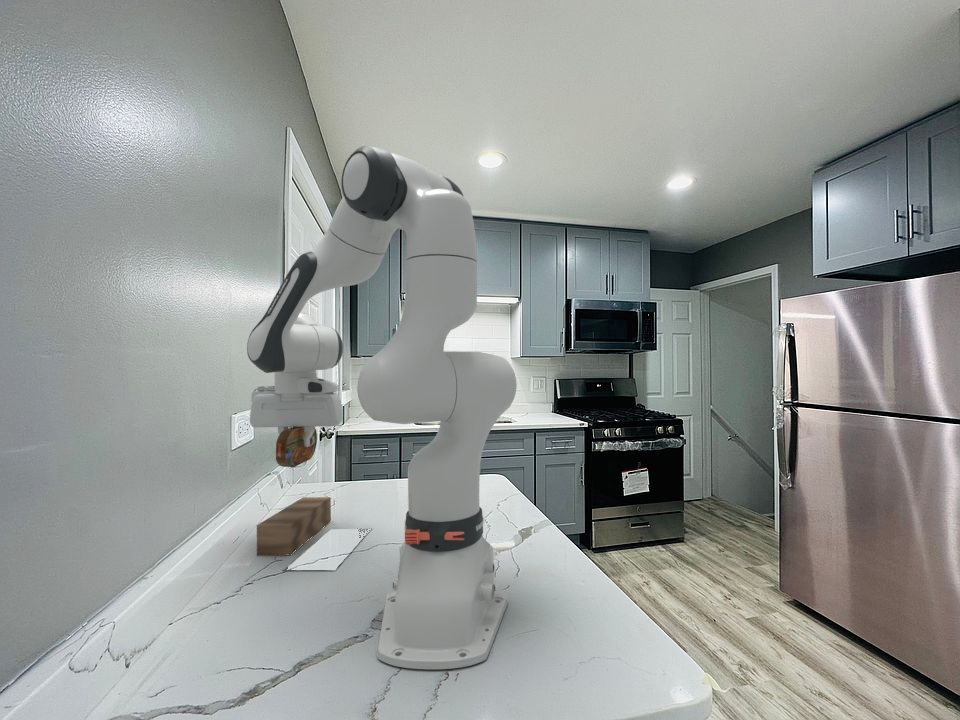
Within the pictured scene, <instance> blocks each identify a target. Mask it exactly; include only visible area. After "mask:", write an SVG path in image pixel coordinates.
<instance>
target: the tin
mask: <svg viewBox="0 0 960 720" xmlns="http://www.w3.org/2000/svg"><path fill="white" fill-rule="evenodd" d="M306 433H307V432H305V427H289V428H288V429H285V430H283V431H282V432H281V433H280V435H279V434H278V437H277V439H276V442H275V444H276V446H275V461H276V463H277V465H278V466H279V467H284V468H296V467H297V466H300V465H302V464H303V463H306V462H308V461H310V460H311V459H312V458H313V456H314V454H315V453H316V448H317V442H318V432H317V428H315V431H314V433H313V434H312V436H311V438H310V446H309V447H300V444H301V443H300V439H303V438H304V437H305V435H306Z"/></svg>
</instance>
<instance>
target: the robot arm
mask: <svg viewBox="0 0 960 720" xmlns="http://www.w3.org/2000/svg"><path fill="white" fill-rule="evenodd" d="M341 191H342V194H343V196H342V198H341V200H340V201H339V204H338V205H337V208H336V209H335V211H334V213H333V216H332V217H331V221H330V223H329V225H328V228H327V231H326V233H325V234H324V236H323V238H322V239H321V240H320V241H319V242H318V243H317V244H316V245H315V246H314V247H313V248H312V249H311V250H309V251H307V252H305V253H302V254H300V255H299V256H298V257H297V258H296V260H295V262H294V263H293V264H292V266H291V267H290V269H289V271H288V273H287V274H286V276H285V278H284V279H283V282H282V283H281V285H280V287H279V289H278V290H277V291H276V293H275V295H274V297H273V298H272V301H271V303H270V304H269V306H268V308H267V310H266V312H265V313H264V315H263V317H262V318H261V319H260V320H259V321H258V323H257V324H256V325H255V326H254V328H253V329H252V330H251V332H250V334H249V336H248V339H247V343H246V344H247V345H246V346H247V347H246V353H247V357H248V360H250V361H251V363H252V364H253V365H254V366H255V367H256V368H257V369H259V370H261V371H262V372H264V373H265V374H271V373H272V374H273V373H274V385H270V386H265V385H264V386H257V387H256V388H255V389H254V390H253V391H252V392H251V395H250V397H251V398H250V399H251V400H250V401H251V405H250V406H251V407H250V412H249V413H250V414H249V424H250V425H251V427H252V428H277V433H278V436H279V435H280V433H281V432H282V431H283V430H285V429H288V428H292V427H305V432H307V433H306V435H305V437H304V438H303V439H300V443H301V444H300V447H309V446H310V438H311V436H312V434H313V433H314V431H315V429H316V427H336V426H339V425H340V424H341V423H342V421H343V407H342V402H341V401H342V400H341V397H340V396H339V395H338V394H337V392H338V391H339V386H338V385H339V384H338V383H336V382H334V381H330V380H327V379H324V378H321V377H318V374H317V371H322V370H323V371H325V370H330V369H333V368H334V367H336V366H337V365H338V364H339V362H340V360H341V359H342V357H343V353H344V345H343V340H342V337H341V336H340V333H339V332H338V331H337V330H336V329H335V328H333V327H329V326H326V325H324V324H321V323H318V322H317V321H316V320H315V318H314V316H313V315H311V314H309V313H305V312H302V311H303V309H304V307H305V306H306V304H307V303H308V301H310V299H312V298H313V297H314V296H317V295H318V294H321V293H323V292H327V291H330V290H334V289H338V288H342V287H349V286H356V285H360V284H361V283H364V282H366V281H368V280H369V279H370V278H372V277H373V276H374V275H375V273H376V272H377V271H378V269H379V267H380V265H381V264H382V262H383V259H384V257H385V254H386V252H387V250H388V248H389V245H390V242H391V239H392V236H393V234H394V233H395V232H396V230H401V231H404V232H405V236H406V248H405V250H406V251H405V252H406V255H405V257H406V258H405V259H406V260H405V270H406V271H405V291H404V293H405V294H404V303H403V304H404V305H403V311H402V315H401V318H400V321H399V324H398V326H397V328H396V330H395V332H394V333H393V335H392V336H391V338H390V339H389V341H388V342H387V343H386V344H385V345H384V346H383V348H381V349H380V351H378V352H377V353H376V354H374V355H372V356H371V357H370V358H369V359H368V360H367V362H365V364H364V365H363V367H362V369H361V371H360V373H359V376H358V379H357V385H356V390H357V398H358V401H359V403H360V406H361V408H362V410H364V412H365V414H366V415H367V416H368V417H369V418H371V419H372V420H373V421H376V422H383V423H390V424H396V425H397V424H399V425H409V424H423V423H435V422H436V423H437V422H440V423H439V428H438V430H437V433H436V435H435V437H434V438H433V439H432V441H430V442H429V443H428V444H427V445H425V446H423V447H422V448H420V449H419V450H418V451H417V452H415V454H414V455H413V457H411V460H410V461H409V464H408V467H407V493H408V494H407V500H408V501H407V502H408V504H407V505H408V510H407V512H406V514H405V520H404V542H403V543H402V544H401V545H399V548H398V549H399V563H398V564H399V565H398V573H397V579H396V580H395V579H394V581H393V583H392V589H393V591H391V592H390V593H388V594H387V595H386V597H385V603H384V608H383V615H382V619H381V627H380V632H379V633H380V634H379V639H378V646H377V652H376V655H377V659H379V660H380V661H381V662H383V663H386V664H388V665H390V666H394V667H400V668H403V669H405V668H406V669H412V670H450V669H452V670H453V669H459V668H465V667H469V666H473V665H476V664H479V663H483V662H484V661H486V660H487V658H488V656H489V654H490V651H491V650H492V646H493V644H494V641H495V638H496V635H497V632H498V630H499V627H500V624H501V622H502V620H503V616H504V615H505V611H506V609H507V606H508V604H509V603H508V596H507V594H506V593H504V592H502V591H499V590H496V583H495V581H496V579H495V578H496V577H495V561H494V560H495V559H494V547H493V545H491V544H490V543H489V542H488V541H487V540H486V539H485V537H484V535H483V534H484V523H485V521H484V515H483V509H482V507H481V506H480V480H481V479H480V477H481V476H480V474H481V473H480V472H481V462H482V456H483V450H484V447H485V444H486V441H487V439H488V437H489V434H490V432H491V430H492V428H493V426H494V425H495V424H496V422H497V420H498V419H499V418H500V417H501V416H502V415H503V414H504V413H505V412H506V411H507V410H508V409H509V408H510V407H511V405H512V404H513V402H514V399H515V397H516V393H517V377H516V373H515V371H514V369H513V367H512V365H511V363H510V362H509V360H508V359H506V358H505V357H502V356H499V355H494V354H493V353H491V354H490V353H487V352H483V351H444V350H445V349H444V348H445V343H446V341H447V340H446V339H447V336H449V333H450V332H451V331H452V330H454V329H456V328H458V327H460V326H462V325H464V324H465V323H467V322H468V321H469V320H470V319H471V318H472V317H473V315H474V313H475V311H476V309H477V307H478V306H477V305H478V300H477V299H478V298H477V297H478V293H477V292H478V291H477V290H478V287H477V286H478V276H477V275H478V269H477V268H478V263H477V261H478V259H477V257H478V256H477V254H478V253H477V239H476V229H475V222H474V217H473V213H472V208H471V205H470V203H469V201H468V199H467V198H465V196H464V193H463V191H462V190H461V188H460V187H459V186H458V185H457V184H456V183H455V182H454V181H453V180H451V179H450V178H449V177H447V176H444V175H440V174H439V173H437V172H436V171H434V170H432V169H431V168H429V167H426V166H424V165H422V164H421V163H420V162H418V161H416V160H414V159H411V158H409V157H406V156H403V155H401V154H397V153H393V152H390V151H389V150H388V149H386V148H382V147H379V146H371V145H370V146H369V145H364V146H360V147H358V148H357V149H355V150H354V151H353V152H352V153H351V154H350V155H349V157H348V158H347V160H346V162H345V164H344V167H343V170H342V175H341Z"/></svg>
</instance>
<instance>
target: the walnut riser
mask: <svg viewBox="0 0 960 720" xmlns="http://www.w3.org/2000/svg"><path fill="white" fill-rule="evenodd" d="M331 498H332V497H330V496H325V497H324V496H321V497H317V496H316V497H313V496H312V497H310V496H309V497H305V496H304V497H302V498H301V497H300V499H297V500H296V501H295V502H293V503H291V504H290V505H288V506H286V507H284V508H283V509H281V510H279V511H278V512H276V513H275V514H273V515H271V516H270V517H268V518H267V519H265V520H263V521H261V522H260V523H258V524H257V525H256V556H287V555H286V554H289V555H288V556H292V555H293V554H294V553H295V552H296V551H298V550H299V549H300V548H301V547H302V546H303V545H302V544H304V543H305V542H306V541H307V540H308V539H310V538H311V537H312V536H313V537H314V535H315V534H316V533H317V532H318V533H320V530H321V529H322V528H323V527H324V526H325V527H327V526H328V525H329V524H330V523H331V522H332V515H331V514H332V511H331V510H332V509H331V508H332V506H331V502H332V501H331ZM330 521H331V522H330ZM329 522H330V523H329ZM328 523H329V524H328ZM327 524H328V525H327ZM326 525H327V526H326ZM325 527H324V528H325ZM324 528H323V529H324ZM323 529H322V530H323ZM322 530H321V531H322ZM318 533H317V534H318ZM317 534H316V535H317ZM316 535H315V536H316ZM313 537H312V538H313ZM312 538H311V539H312ZM311 539H310V540H311ZM307 542H308V541H307ZM307 542H306V543H307ZM306 543H305V544H306ZM305 544H304V545H305ZM301 545H302V546H301ZM300 546H301V547H300ZM299 547H300V548H299ZM298 548H299V549H298ZM297 549H298V550H297ZM295 550H296V551H295ZM294 551H295V552H294ZM293 552H294V553H293ZM292 553H293V554H292ZM291 554H292V555H291Z"/></svg>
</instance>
